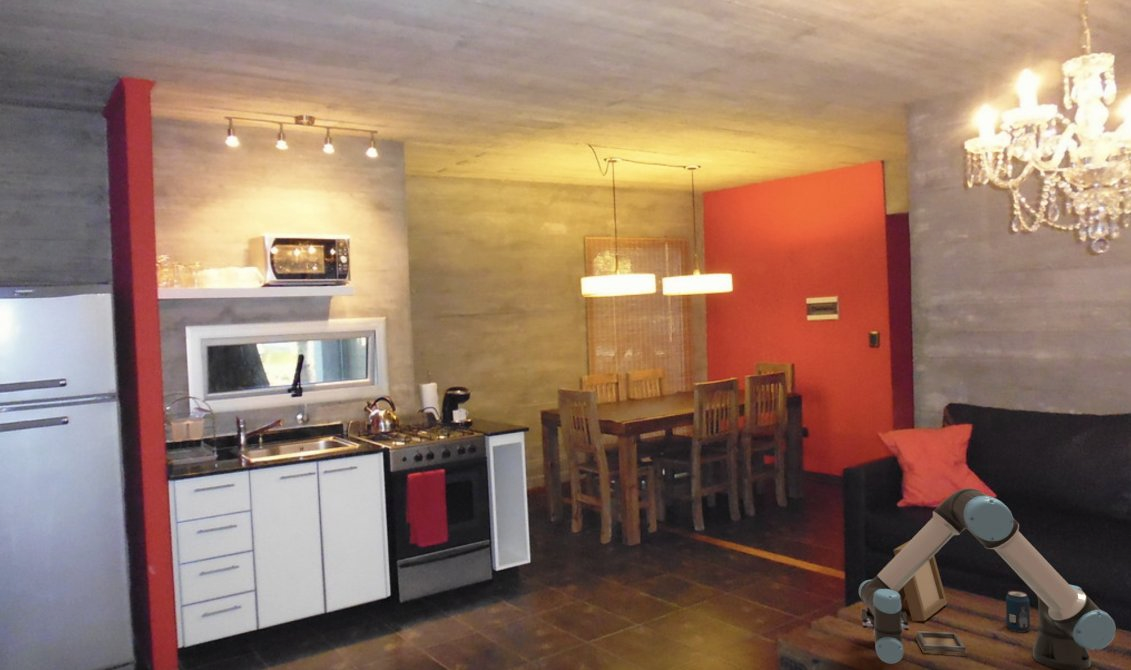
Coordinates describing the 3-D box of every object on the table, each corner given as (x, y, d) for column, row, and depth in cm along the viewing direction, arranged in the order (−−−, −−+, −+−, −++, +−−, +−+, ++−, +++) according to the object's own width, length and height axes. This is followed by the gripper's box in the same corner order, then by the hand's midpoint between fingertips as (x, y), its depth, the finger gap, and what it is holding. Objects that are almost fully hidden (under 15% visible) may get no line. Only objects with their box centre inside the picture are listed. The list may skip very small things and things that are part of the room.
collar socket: (957, 640, 272) (957, 632, 272) (967, 656, 260) (967, 648, 260) (915, 638, 275) (915, 630, 275) (923, 653, 263) (922, 646, 263)
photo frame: (947, 605, 303) (944, 537, 303) (924, 623, 287) (921, 551, 287) (906, 598, 313) (903, 531, 313) (882, 614, 297) (879, 545, 297)
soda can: (1013, 623, 285) (1012, 588, 284) (1034, 629, 279) (1033, 594, 278) (1002, 628, 281) (1001, 593, 281) (1022, 634, 275) (1022, 598, 275)
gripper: (854, 642, 257) (852, 615, 279) (921, 647, 251) (914, 619, 273) (853, 618, 257) (851, 593, 279) (920, 622, 251) (913, 596, 273)
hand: (882, 606), depth 276 cm, fingers closed on syrup box, 6 cm apart
